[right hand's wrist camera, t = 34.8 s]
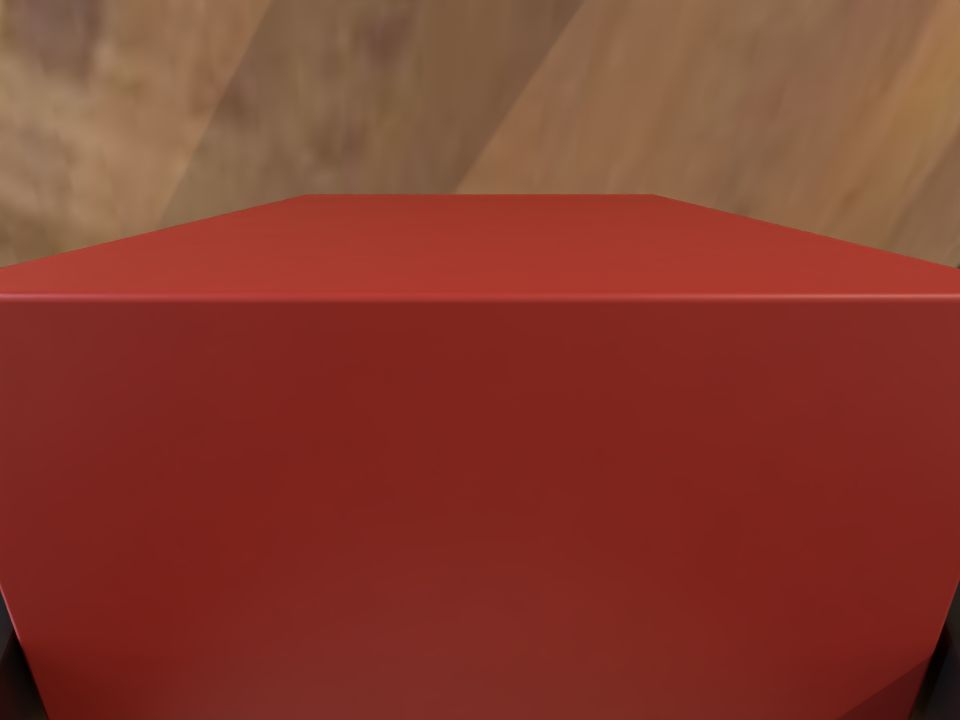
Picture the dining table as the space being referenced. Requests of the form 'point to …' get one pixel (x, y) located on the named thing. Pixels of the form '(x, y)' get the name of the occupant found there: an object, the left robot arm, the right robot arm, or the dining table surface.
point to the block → (479, 465)
